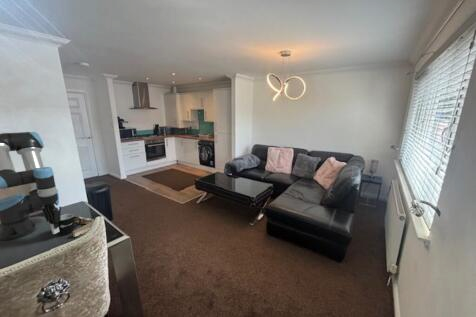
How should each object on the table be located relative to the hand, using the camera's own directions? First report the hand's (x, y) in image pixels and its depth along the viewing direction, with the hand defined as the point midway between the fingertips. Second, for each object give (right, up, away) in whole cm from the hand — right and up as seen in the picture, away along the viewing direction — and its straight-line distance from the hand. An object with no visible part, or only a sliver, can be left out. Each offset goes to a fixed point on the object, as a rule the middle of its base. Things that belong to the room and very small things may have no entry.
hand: (56, 232), depth 114 cm
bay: (+3, -2, +10) cm, 11 cm away
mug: (+2, -2, +7) cm, 8 cm away
